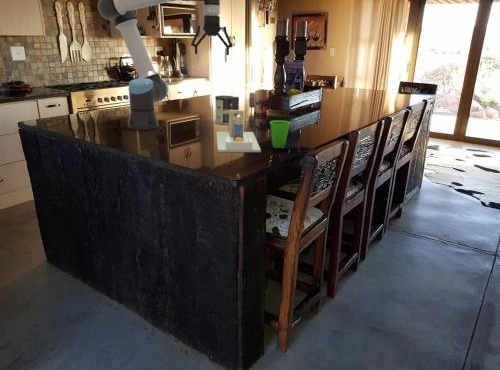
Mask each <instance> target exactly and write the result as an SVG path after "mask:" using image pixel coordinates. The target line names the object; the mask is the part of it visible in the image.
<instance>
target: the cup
mask: <svg viewBox="0 0 500 370" xmlns="http://www.w3.org/2000/svg"><path fill="white" fill-rule="evenodd" d="M269 124H270V133H271V141H272V142H271V143H272V148H274V147H275V148H274V149H277V148H282V149H284V148H285V147H286V142H287V139H288V133H289V130H290V125H291V122H290V121H288V120H271V121H269Z"/></svg>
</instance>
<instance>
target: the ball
mask: <svg viewBox="0 0 500 370" xmlns="http://www.w3.org/2000/svg"><path fill="white" fill-rule="evenodd" d="M234 142H243V139H242V138H241V137H236V138H235V139H234Z"/></svg>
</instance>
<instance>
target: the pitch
mask: <svg viewBox="0 0 500 370" xmlns="http://www.w3.org/2000/svg"><path fill="white" fill-rule="evenodd" d="M234 113H239V115H240V116H241V117H242V120H241V122H240V124H243V125H244V119H245V118H244V115H245V114H244V113H245V112H244V110H243V109H239V110H229V124H228V131H216V132H215V133H216V145H217V146H216V147H217V153H262V150H261V147H260V145H259V142H258V141H257V138H256V136H255V133H254V131H243V142H233V132H234V124H236V121H235V117H234Z"/></svg>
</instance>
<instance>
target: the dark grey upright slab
mask: <svg viewBox="0 0 500 370" xmlns="http://www.w3.org/2000/svg"><path fill="white" fill-rule="evenodd" d="M239 102H240V97H239V96H233V97H232V110H240V106H239V105H240V103H239ZM234 119H235V121H236V124H234V132H233V142H234V139H235V138H236V137H241V138H242V139H243V132H244V123H243V124H240V122H241V120H242V117H241V116H240V115H239V113H234Z"/></svg>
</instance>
